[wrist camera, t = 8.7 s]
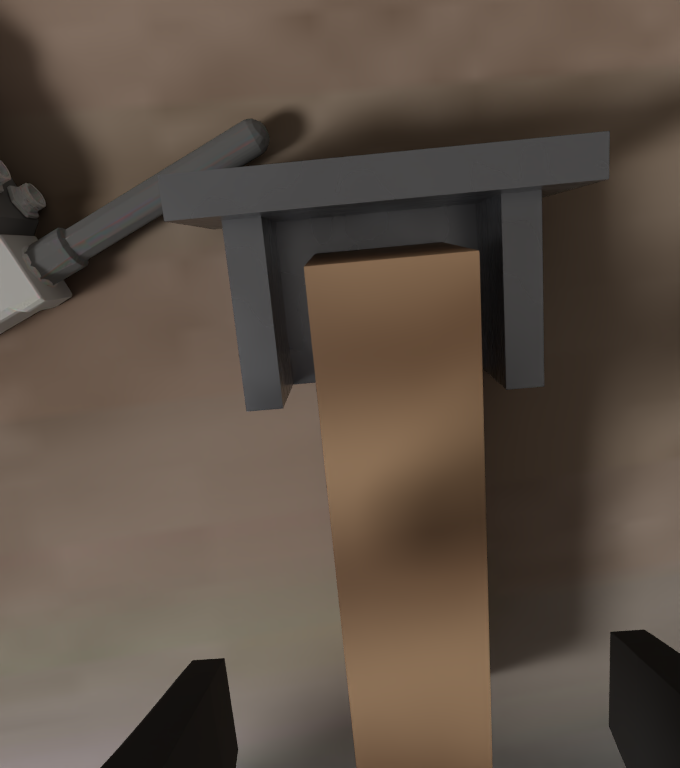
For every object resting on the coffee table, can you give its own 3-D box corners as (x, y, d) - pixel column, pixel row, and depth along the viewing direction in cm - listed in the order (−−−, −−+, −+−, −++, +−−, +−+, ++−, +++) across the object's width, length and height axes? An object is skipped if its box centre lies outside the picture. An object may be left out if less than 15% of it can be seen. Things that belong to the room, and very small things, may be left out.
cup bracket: (540, 359, 19) (606, 397, 14) (234, 385, 19) (195, 431, 14) (537, 164, 18) (609, 131, 13) (209, 195, 18) (157, 175, 13)
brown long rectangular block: (460, 683, 22) (493, 815, 17) (358, 690, 22) (362, 824, 17) (442, 241, 17) (479, 250, 13) (314, 253, 17) (303, 266, 13)
